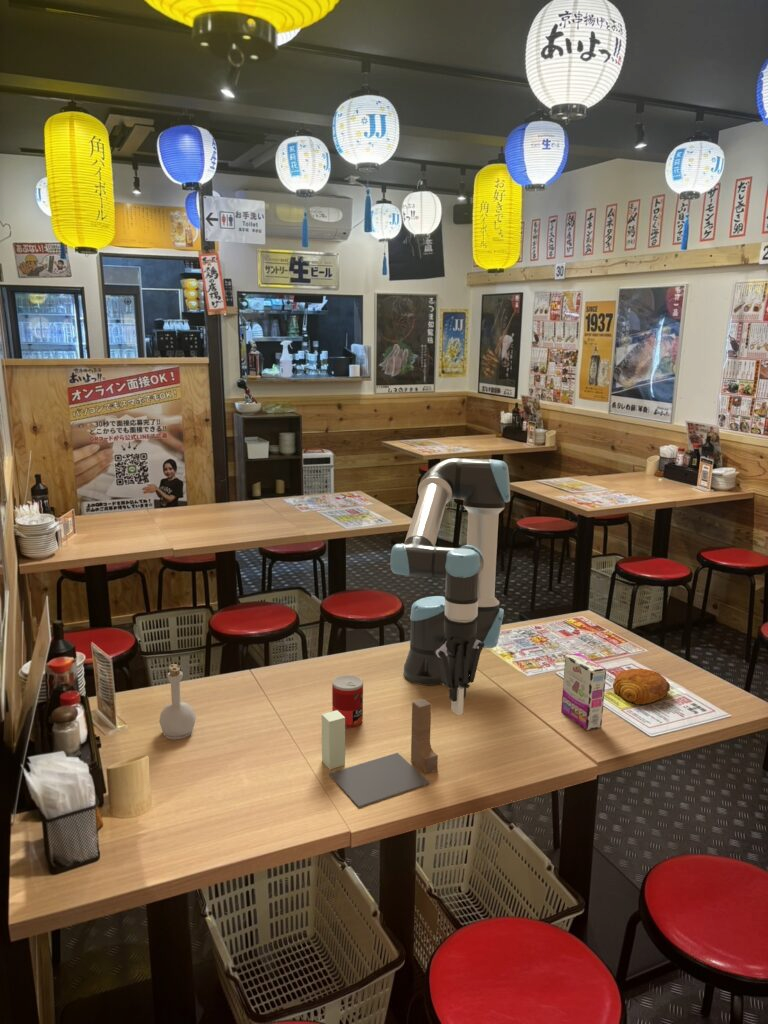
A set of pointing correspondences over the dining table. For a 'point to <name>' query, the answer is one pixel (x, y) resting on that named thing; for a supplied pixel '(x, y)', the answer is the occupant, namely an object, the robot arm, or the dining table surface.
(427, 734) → the wooden block
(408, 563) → the robot arm
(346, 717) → the canned food
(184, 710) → the potion bottle
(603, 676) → the candy bar box
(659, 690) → the croissant
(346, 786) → the mat
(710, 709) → the dining table surface
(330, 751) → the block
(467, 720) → the dining table surface
